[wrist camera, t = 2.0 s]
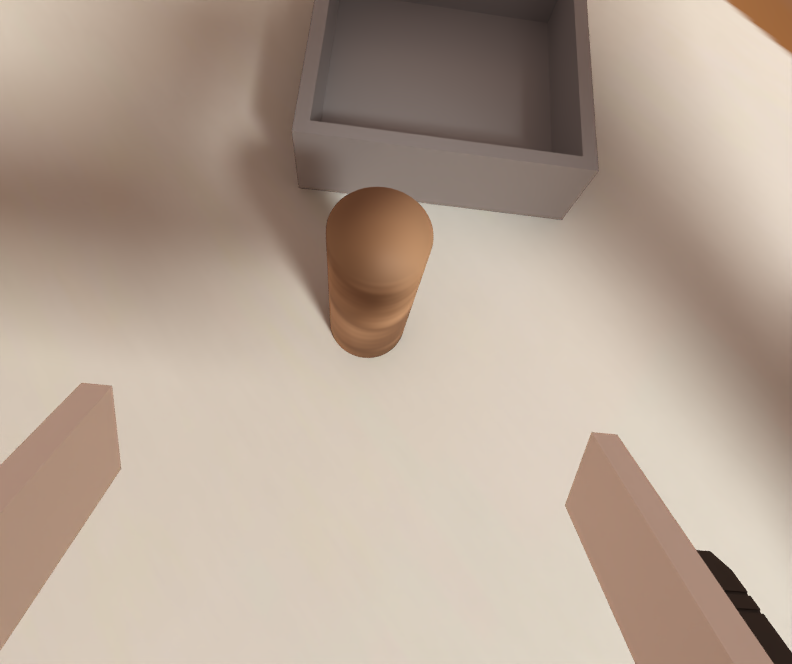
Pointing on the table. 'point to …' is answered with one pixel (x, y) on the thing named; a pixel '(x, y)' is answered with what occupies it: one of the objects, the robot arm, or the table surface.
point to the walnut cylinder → (374, 267)
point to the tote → (449, 102)
